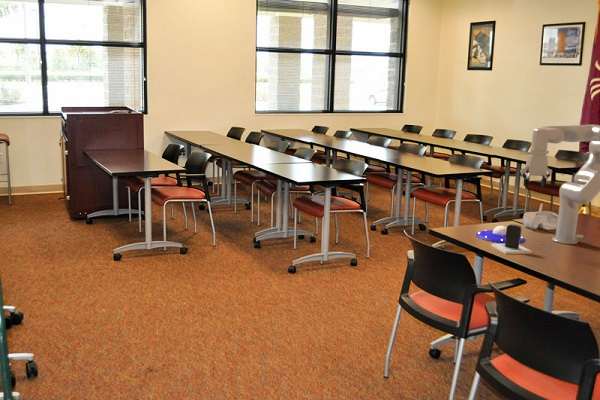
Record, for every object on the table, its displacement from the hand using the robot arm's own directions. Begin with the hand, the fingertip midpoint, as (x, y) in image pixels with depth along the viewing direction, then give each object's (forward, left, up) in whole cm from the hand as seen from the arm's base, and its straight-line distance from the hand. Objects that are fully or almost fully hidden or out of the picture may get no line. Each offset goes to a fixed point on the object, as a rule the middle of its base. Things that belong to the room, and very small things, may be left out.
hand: (534, 186), depth 328 cm
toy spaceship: (+8, -13, -31) cm, 34 cm away
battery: (+14, +10, -29) cm, 34 cm away
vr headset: (-28, -32, -31) cm, 52 cm away
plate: (+15, +10, -30) cm, 35 cm away
